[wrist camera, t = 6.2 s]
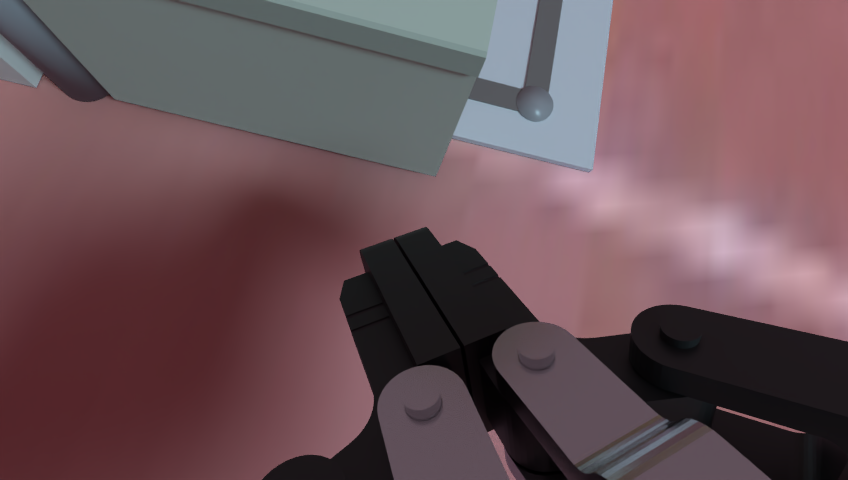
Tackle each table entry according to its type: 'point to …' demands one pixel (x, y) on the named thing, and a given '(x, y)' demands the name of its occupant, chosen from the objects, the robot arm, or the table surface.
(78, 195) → the table surface
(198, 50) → the swing panel
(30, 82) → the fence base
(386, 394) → the robot arm
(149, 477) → the table surface
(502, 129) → the card
